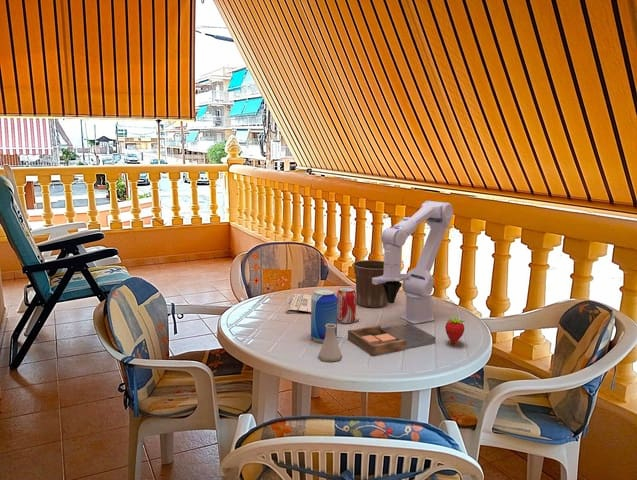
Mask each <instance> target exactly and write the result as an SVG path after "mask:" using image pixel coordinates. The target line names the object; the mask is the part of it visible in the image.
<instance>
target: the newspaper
mask: <svg viewBox="0 0 637 480" xmlns="http://www.w3.org/2000/svg"><path fill="white" fill-rule="evenodd" d="M312 296H313V294H305V293H292V294H291V296H290V295H288V296H287V298H286V304H285V305H286V306H285V312H286V313H287V314H299V311H302V312H308V313H311V298H312Z"/></svg>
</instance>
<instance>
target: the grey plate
mask: <svg viewBox="0 0 637 480" xmlns="http://www.w3.org/2000/svg"><path fill="white" fill-rule="evenodd" d="M382 334H389V335H391V336H393V337H395V338H396V341H398V340H406V350H407V349H412V348H417V347H423V346H427V345H432V344H436V339H437V338H436V336H434V335H432V334H430V333H428V332H426V331H424V330H423V329H421V328H419V327H417V326H415V325H414V324H412V323H404V324H399V325H398V324H397V325H391V326H387V327H381V335H382Z"/></svg>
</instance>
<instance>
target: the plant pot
mask: <svg viewBox="0 0 637 480" xmlns="http://www.w3.org/2000/svg"><path fill="white" fill-rule="evenodd" d="M352 265H353V270H354V271H353V272H354V276H355V292H356V305H357V304H358V305H359V306H361V307H364V308H365V307H366V308H369V307H372V308H376V309H377V308H383V307H386V306H387V305H388V302H387V296H386V293H385V290H384V288H383V286H382V283H380V284H377V285H375V284H372V278H375V277H379V276H382V275H383V273H384V260H382V261H381V260H375V259H373V260H371V259H370V260H368V259H366V260H357V261H355V262H353V263H352Z"/></svg>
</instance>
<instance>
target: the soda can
mask: <svg viewBox="0 0 637 480" xmlns="http://www.w3.org/2000/svg"><path fill="white" fill-rule="evenodd" d="M336 296H337V299H338V300H337V322H339V323H341V324H352V323H353V322H355V321H356V314H357V297H356V288H354V287H351V286H340V287H338V290H337V292H336Z"/></svg>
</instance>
